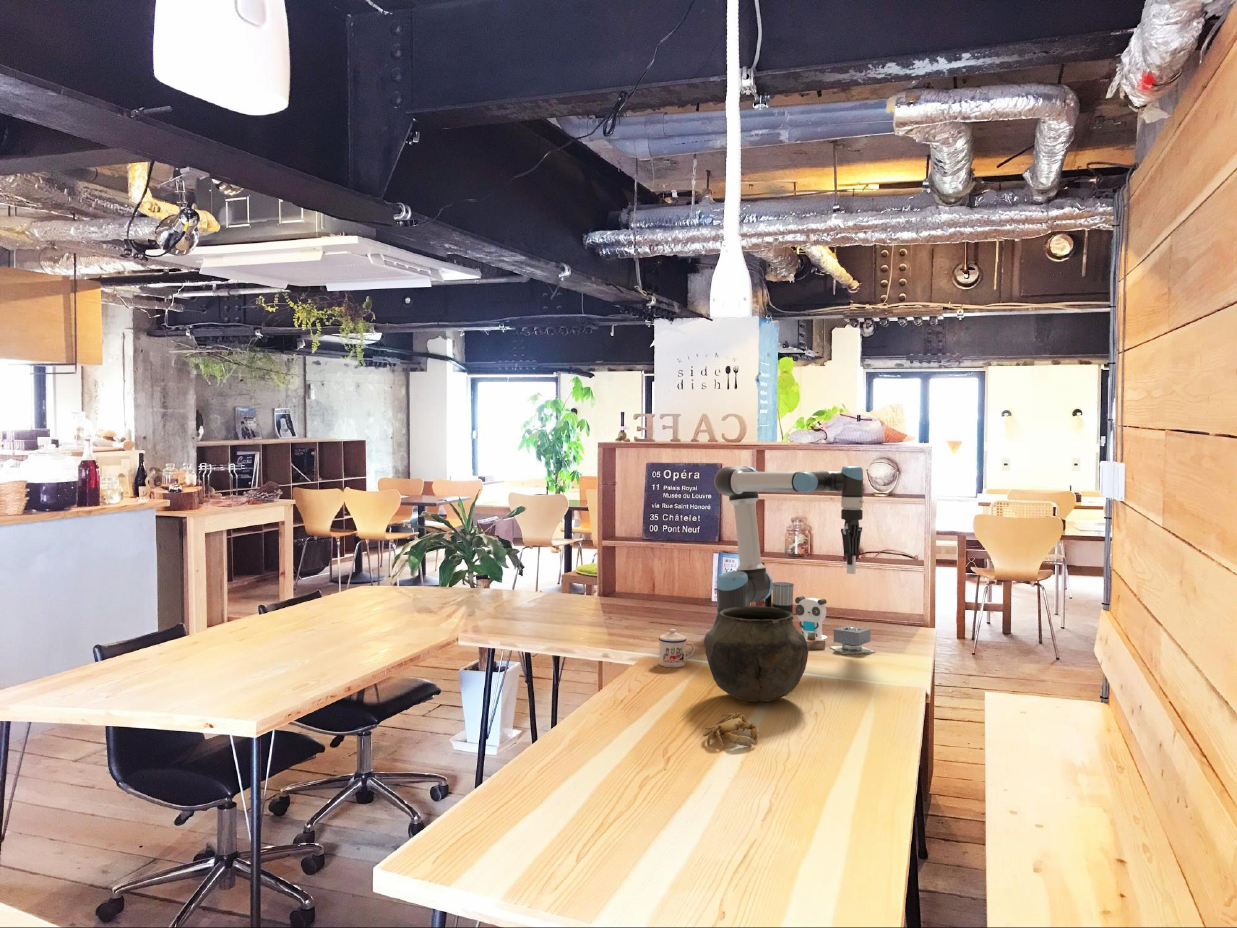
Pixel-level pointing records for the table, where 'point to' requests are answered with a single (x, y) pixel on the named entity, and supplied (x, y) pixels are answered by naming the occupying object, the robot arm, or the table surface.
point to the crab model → (733, 725)
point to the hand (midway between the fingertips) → (851, 573)
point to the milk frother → (781, 596)
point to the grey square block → (852, 635)
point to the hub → (851, 647)
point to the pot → (756, 653)
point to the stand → (814, 641)
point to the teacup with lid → (673, 649)
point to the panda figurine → (811, 615)
